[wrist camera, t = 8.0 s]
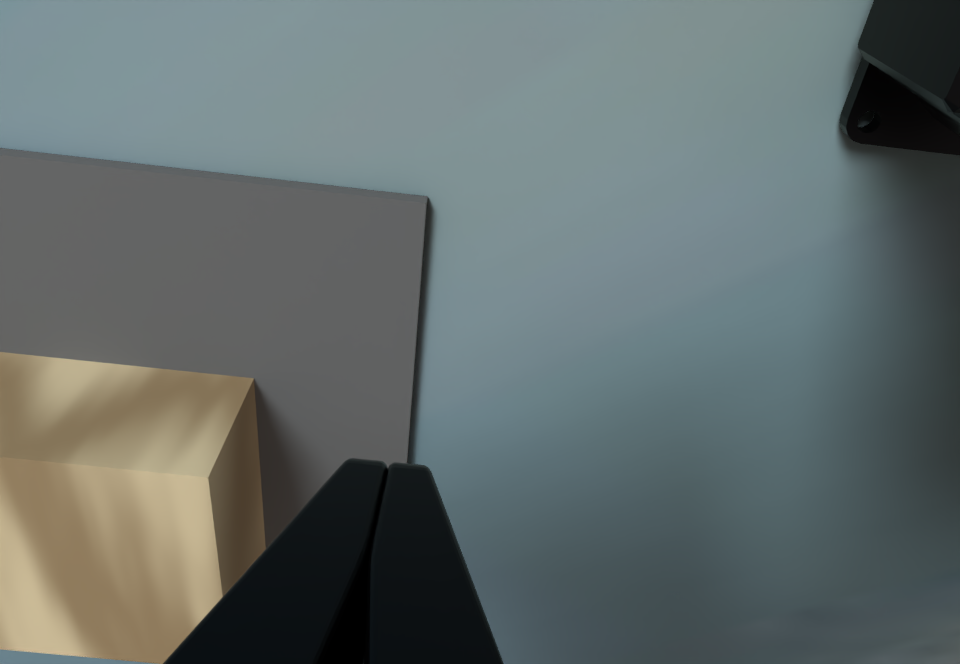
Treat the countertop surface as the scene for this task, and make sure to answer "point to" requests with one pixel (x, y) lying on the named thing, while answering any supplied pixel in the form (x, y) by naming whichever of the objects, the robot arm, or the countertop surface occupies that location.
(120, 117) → the countertop surface
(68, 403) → the maple block
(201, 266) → the mat
